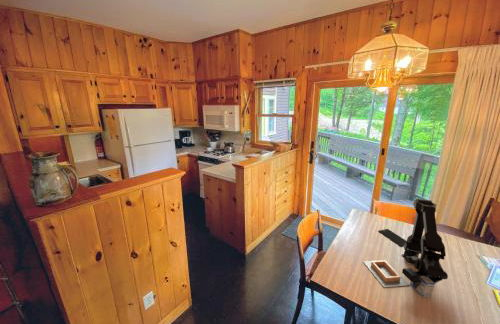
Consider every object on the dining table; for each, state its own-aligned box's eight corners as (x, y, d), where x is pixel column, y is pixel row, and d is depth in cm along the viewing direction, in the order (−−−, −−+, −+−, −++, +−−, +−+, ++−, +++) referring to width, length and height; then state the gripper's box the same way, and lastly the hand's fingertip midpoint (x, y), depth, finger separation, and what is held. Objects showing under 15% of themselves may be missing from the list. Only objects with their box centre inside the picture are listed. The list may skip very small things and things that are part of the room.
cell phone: (387, 229, 153) (387, 228, 153) (411, 245, 136) (411, 243, 136) (377, 231, 151) (378, 230, 150) (400, 247, 134) (401, 246, 134)
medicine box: (409, 284, 106) (412, 270, 104) (417, 283, 107) (420, 270, 104) (423, 297, 99) (426, 283, 97) (431, 297, 99) (435, 282, 97)
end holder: (385, 260, 123) (386, 256, 122) (409, 285, 106) (410, 281, 105) (362, 261, 122) (363, 257, 121) (383, 287, 105) (384, 283, 104)
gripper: (430, 248, 106) (424, 273, 111) (396, 251, 105) (391, 275, 110) (452, 264, 96) (444, 291, 100) (414, 267, 95) (408, 294, 99)
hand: (421, 287), depth 102 cm, fingers open, 6 cm apart
